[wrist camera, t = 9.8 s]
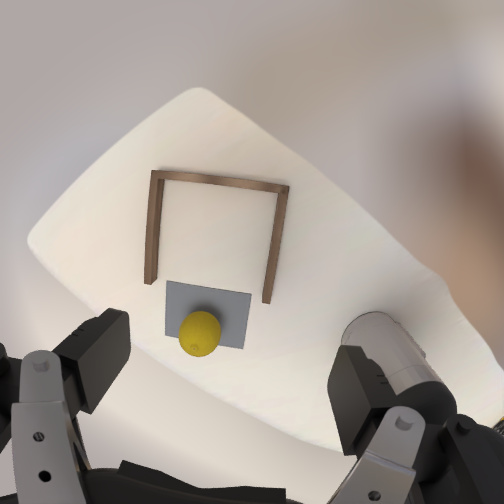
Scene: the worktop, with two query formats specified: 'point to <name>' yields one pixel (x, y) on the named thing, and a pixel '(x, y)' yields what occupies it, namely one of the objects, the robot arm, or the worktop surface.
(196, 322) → the lemon
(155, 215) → the bay
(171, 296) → the mat
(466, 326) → the worktop surface
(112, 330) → the robot arm
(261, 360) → the worktop surface
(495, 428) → the medicine bottle
